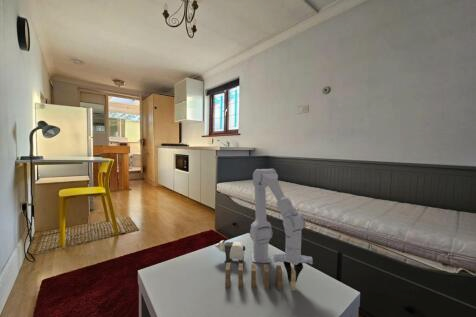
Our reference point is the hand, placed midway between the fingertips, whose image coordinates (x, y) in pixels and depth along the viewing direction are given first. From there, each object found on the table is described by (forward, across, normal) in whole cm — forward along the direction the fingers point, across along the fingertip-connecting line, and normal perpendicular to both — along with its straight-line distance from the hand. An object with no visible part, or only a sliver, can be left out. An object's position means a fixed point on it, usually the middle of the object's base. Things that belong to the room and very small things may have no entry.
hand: (292, 280), depth 77 cm
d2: (+3, -20, 0) cm, 20 cm away
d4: (+3, -10, 0) cm, 10 cm away
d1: (+3, -25, 0) cm, 25 cm away
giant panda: (+3, -25, +16) cm, 30 cm away
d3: (+3, -15, 0) cm, 15 cm away
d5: (+3, -5, 0) cm, 6 cm away
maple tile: (+3, 0, 0) cm, 3 cm away
